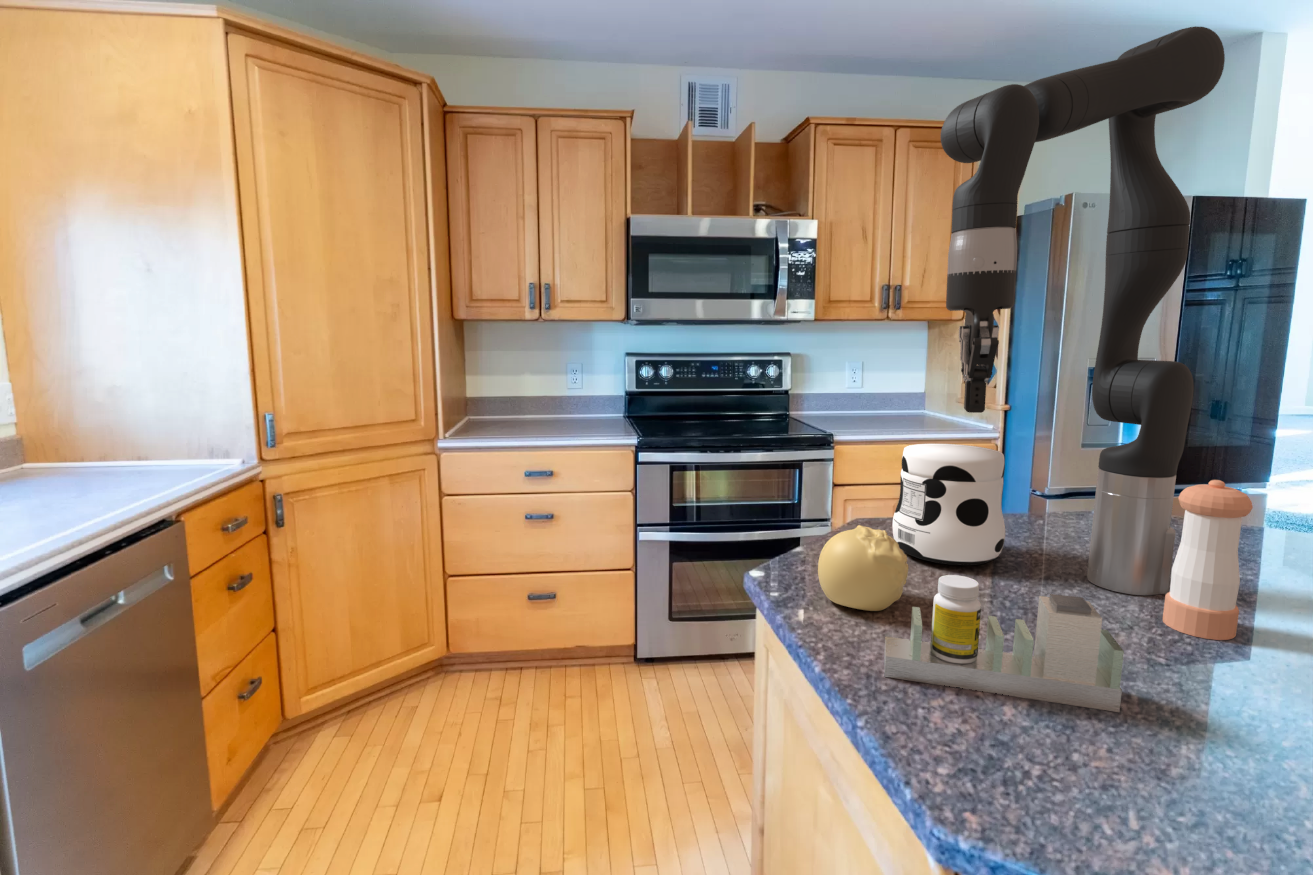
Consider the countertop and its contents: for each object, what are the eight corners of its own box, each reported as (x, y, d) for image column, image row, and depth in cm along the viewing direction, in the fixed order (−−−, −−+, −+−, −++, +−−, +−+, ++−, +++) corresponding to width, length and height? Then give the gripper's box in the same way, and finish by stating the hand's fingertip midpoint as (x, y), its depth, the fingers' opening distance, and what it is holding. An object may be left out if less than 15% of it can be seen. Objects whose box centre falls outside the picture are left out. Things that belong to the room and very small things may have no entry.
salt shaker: (1218, 645, 80) (1239, 489, 77) (1150, 622, 86) (1167, 477, 83) (1247, 632, 83) (1268, 483, 80) (1180, 611, 89) (1197, 472, 86)
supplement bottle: (982, 667, 70) (988, 591, 68) (935, 663, 70) (940, 587, 69) (970, 646, 74) (976, 574, 73) (926, 642, 75) (930, 571, 74)
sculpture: (914, 623, 86) (919, 543, 84) (819, 616, 88) (822, 538, 86) (898, 589, 97) (902, 518, 95) (814, 584, 99) (817, 514, 97)
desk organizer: (1103, 687, 70) (1113, 597, 69) (1119, 712, 65) (1130, 616, 64) (884, 655, 77) (888, 573, 76) (884, 676, 72) (889, 589, 71)
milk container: (1007, 550, 114) (1016, 447, 112) (996, 581, 100) (1006, 465, 97) (903, 534, 124) (908, 439, 121) (879, 561, 109) (885, 453, 106)
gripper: (1028, 264, 73) (1018, 419, 76) (1004, 272, 85) (997, 405, 88) (954, 267, 75) (947, 419, 78) (941, 275, 88) (936, 405, 91)
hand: (974, 411), depth 83 cm, fingers closed
